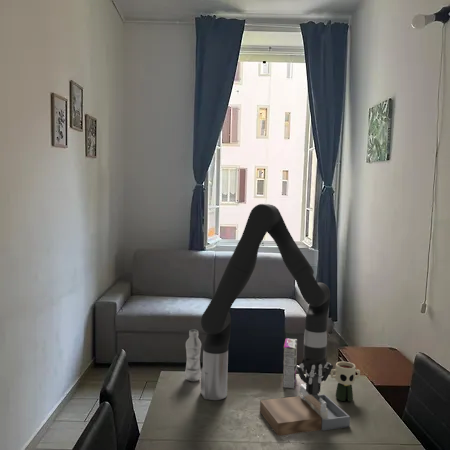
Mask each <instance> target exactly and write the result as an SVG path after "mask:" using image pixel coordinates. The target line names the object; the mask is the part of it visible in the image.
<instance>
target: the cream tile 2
mask: <svg viewBox="0 0 450 450" xmlns="http://www.w3.org/2000/svg"><path fill="white" fill-rule="evenodd" d="M314 410H315V411H316V412H317V413H318V414H319V415H320V416H321V417H322V418H323V419H327V418H328V409H327V408H326V412H322V413H320V412H319V411H318V410H317V409H316V408H315V407H314Z"/></svg>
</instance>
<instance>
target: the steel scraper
mask: <svg viewBox="0 0 450 450" xmlns="http://www.w3.org/2000/svg"><path fill="white" fill-rule="evenodd" d="M299 386H300V388H299V393H300V394H301V395H302V397H303V396H304V397H305V398H306V399H307V400H308V401H309V402H310V403H311V404H312V405H313V406H314V407H315V408H316V409H317V410H318V411H319V412H320V413H322V412H326V404H327V403H326V402H325V401H324V400H323V399H322V398H321V397H319V396H318V395H319V394H318V377H317V376H316V375H315V374H314V377H313V378H312V394H311V395H309V394H308V393H307V391H306V383H301V384H300V385H299Z"/></svg>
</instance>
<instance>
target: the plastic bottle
mask: <svg viewBox="0 0 450 450" xmlns="http://www.w3.org/2000/svg"><path fill="white" fill-rule="evenodd" d="M199 334H200V333H199V330H197V329H190V330H189V332H188V339H186V341H185V351H186V362H185V363H186V364H185V371H184V377H185V379H186V381H189V382H199V380H201V361H200V359H201V350H202V341H201V340H200V338H199Z"/></svg>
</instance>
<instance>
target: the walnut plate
mask: <svg viewBox="0 0 450 450" xmlns="http://www.w3.org/2000/svg"><path fill="white" fill-rule="evenodd" d="M301 397H302V396H301V395H299V396H289V397H279V398H271V399H263V400H260V401H259V402H260V404H259V412H260V414H261V415H262V416H263V418H264V419H265V420H266V421H267V424H268V425H269V426H270V427H271V428H272V430H273V431H274V432H275V434H276V436H285V435H286V436H288V435H294V434H301V433H308V432H316V431H322V430H321V425H322V418H321V417H320V416H319V415H318V414H317V413H316V412H315V411H314V410H313V409H312V408H311V407H310V406H309V405H308V404H307V403H306V402H305V401H304V400H303V399H302V398H301Z"/></svg>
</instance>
